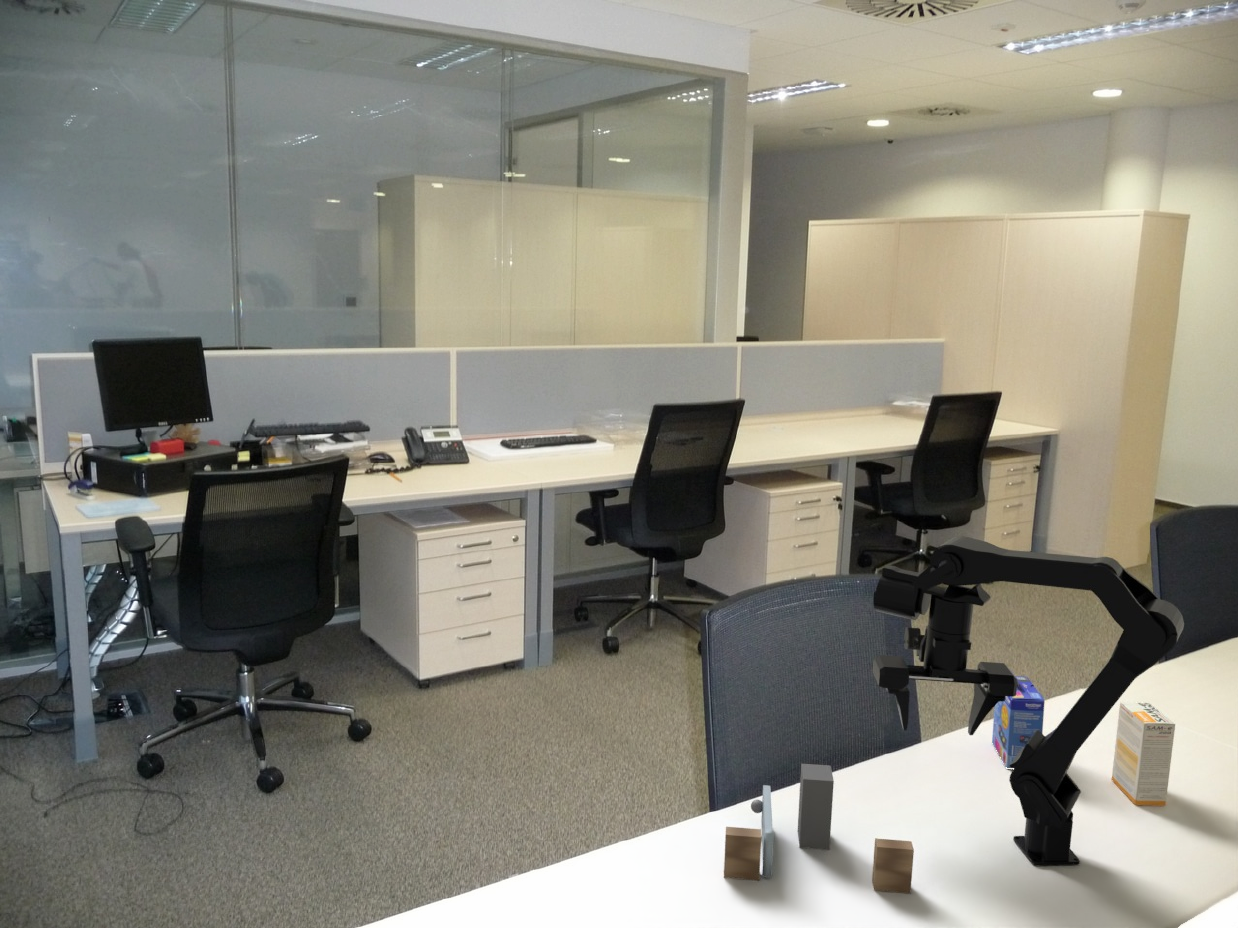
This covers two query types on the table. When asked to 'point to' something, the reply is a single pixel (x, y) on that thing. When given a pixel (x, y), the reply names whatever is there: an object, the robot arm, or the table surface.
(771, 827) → the door
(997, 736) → the ink cartridge box
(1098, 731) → the table surface
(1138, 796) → the supplement box
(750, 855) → the wooden blocks
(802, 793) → the tall gray pillar
